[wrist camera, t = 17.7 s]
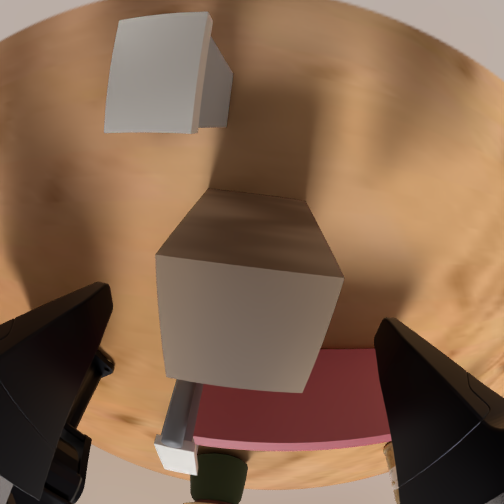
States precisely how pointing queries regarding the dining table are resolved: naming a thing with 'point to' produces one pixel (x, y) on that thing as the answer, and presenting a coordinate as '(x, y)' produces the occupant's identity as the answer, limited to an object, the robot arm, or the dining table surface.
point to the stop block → (246, 292)
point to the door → (300, 410)
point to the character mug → (218, 479)
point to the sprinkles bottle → (392, 469)
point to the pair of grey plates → (169, 121)
